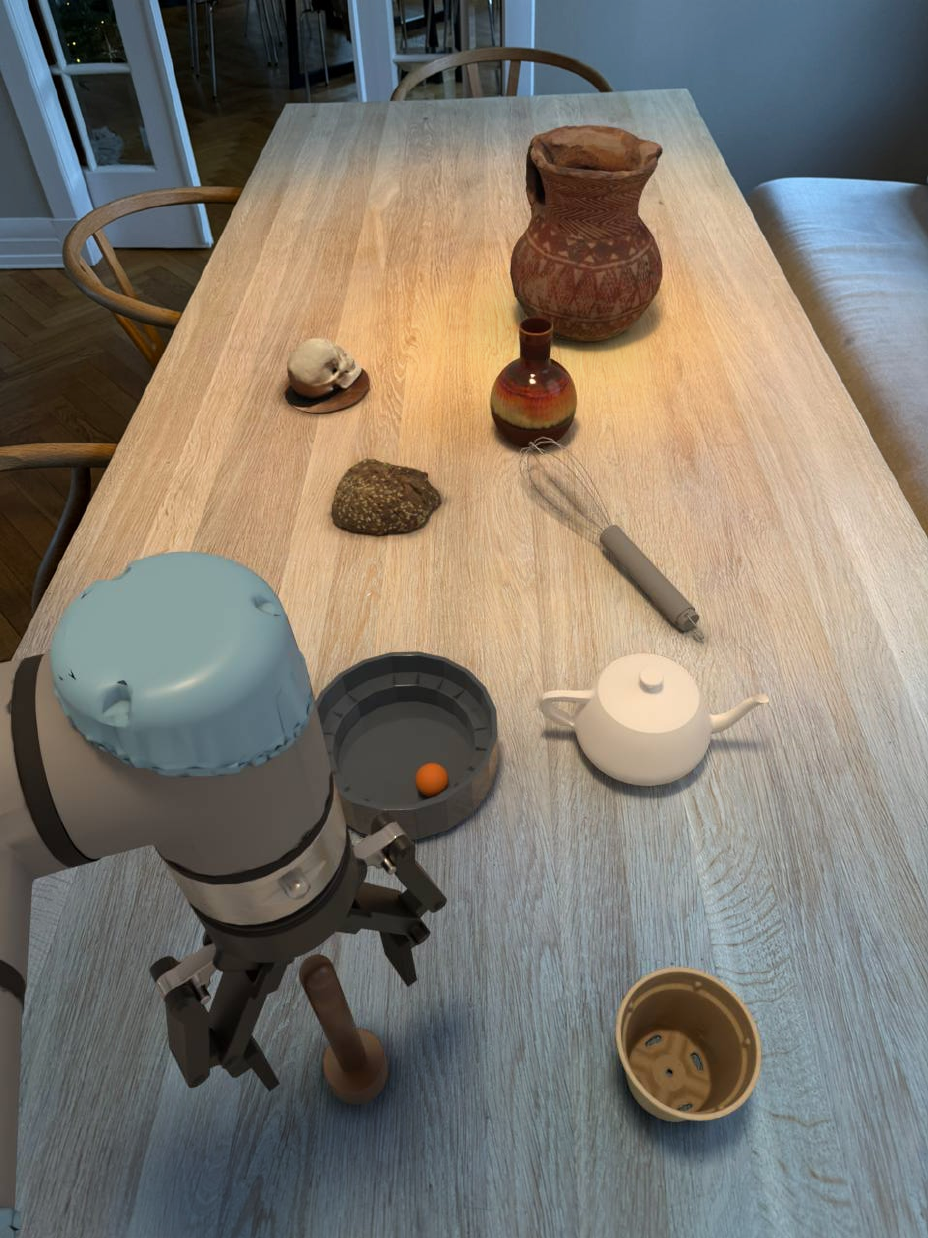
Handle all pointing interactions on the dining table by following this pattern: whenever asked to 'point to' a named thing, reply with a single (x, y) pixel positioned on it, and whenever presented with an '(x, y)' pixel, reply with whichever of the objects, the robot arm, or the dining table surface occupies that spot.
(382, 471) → the bread roll
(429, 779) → the bead
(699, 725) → the teapot
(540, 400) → the vase
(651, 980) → the flower pot
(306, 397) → the skull
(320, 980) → the wooden pestle
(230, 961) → the robot arm
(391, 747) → the bowl
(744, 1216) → the dining table surface
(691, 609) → the kitchen whisk
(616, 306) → the jug
